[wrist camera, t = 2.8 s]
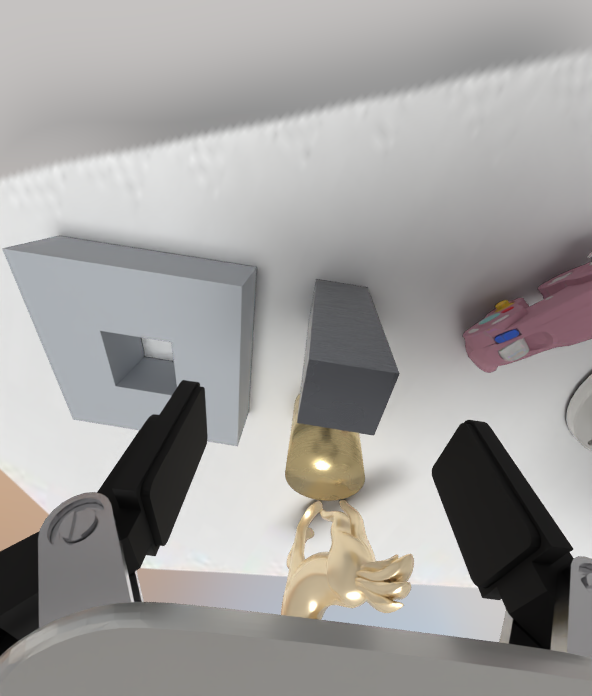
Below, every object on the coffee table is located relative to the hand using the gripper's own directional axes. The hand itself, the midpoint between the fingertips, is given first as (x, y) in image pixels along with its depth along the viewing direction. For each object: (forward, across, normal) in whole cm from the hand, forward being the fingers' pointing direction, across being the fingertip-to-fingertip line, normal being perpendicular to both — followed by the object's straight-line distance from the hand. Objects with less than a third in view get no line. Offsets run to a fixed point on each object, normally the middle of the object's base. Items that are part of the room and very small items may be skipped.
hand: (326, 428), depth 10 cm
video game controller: (+12, -14, -2) cm, 18 cm away
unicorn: (+12, -5, +25) cm, 28 cm away
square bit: (+12, -1, 0) cm, 12 cm away
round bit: (+12, -2, +10) cm, 16 cm away
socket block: (+12, +12, +5) cm, 18 cm away
